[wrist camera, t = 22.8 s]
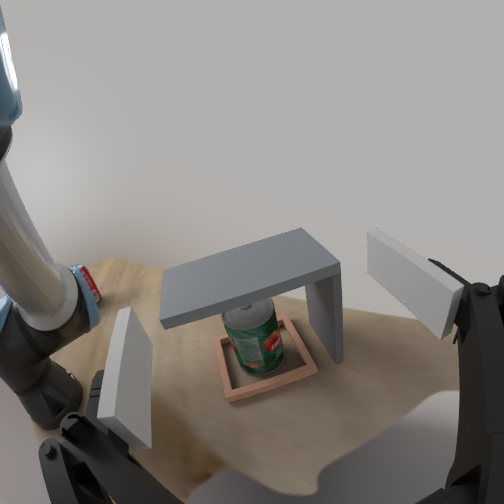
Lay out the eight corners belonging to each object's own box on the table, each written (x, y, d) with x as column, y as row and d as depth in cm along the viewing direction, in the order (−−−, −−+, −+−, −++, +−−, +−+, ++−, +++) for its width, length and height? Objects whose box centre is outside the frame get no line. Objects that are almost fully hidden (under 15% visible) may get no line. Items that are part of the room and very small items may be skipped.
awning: (210, 406, 38) (159, 319, 29) (202, 354, 48) (163, 270, 40) (342, 360, 40) (340, 261, 32) (313, 317, 51) (301, 227, 43)
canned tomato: (291, 365, 42) (281, 316, 37) (245, 382, 41) (226, 335, 36) (276, 335, 49) (264, 287, 44) (234, 350, 48) (217, 303, 43)
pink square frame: (228, 403, 38) (225, 398, 37) (215, 342, 51) (212, 337, 50) (317, 372, 40) (317, 367, 39) (287, 319, 52) (286, 313, 52)
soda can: (88, 297, 77) (71, 265, 72) (105, 293, 77) (88, 260, 72) (80, 310, 71) (61, 277, 65) (97, 307, 71) (78, 272, 65)
